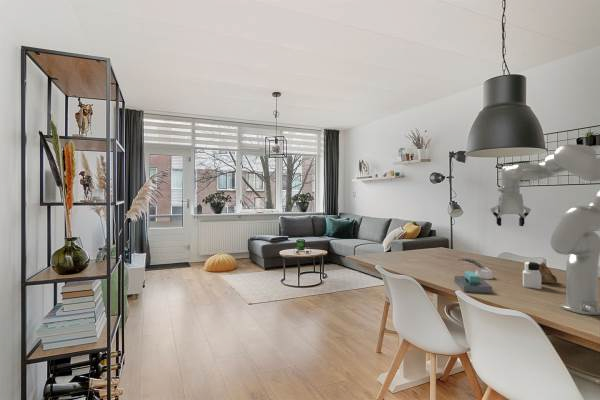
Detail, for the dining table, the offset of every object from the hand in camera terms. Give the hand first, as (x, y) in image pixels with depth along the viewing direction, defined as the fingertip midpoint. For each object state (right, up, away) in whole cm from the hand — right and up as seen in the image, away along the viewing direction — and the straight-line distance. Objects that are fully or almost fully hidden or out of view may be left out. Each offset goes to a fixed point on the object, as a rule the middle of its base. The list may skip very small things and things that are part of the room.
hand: (510, 225), depth 164 cm
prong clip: (-19, -30, +1) cm, 36 cm away
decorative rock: (+23, -31, +10) cm, 40 cm away
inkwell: (-5, -30, +23) cm, 38 cm away
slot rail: (-18, -30, +1) cm, 35 cm away
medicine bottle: (+12, -31, +2) cm, 33 cm away
